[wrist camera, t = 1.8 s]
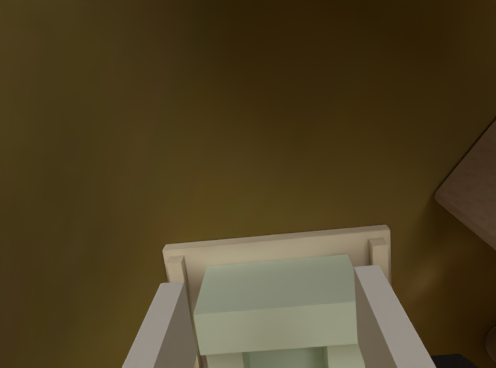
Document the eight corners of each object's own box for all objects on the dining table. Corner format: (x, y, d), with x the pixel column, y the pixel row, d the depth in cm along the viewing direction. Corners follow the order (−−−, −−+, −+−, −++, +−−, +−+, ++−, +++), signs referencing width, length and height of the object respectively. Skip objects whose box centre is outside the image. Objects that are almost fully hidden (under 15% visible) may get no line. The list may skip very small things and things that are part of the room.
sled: (206, 266, 30) (193, 314, 25) (347, 254, 30) (367, 300, 24) (226, 392, 34) (218, 461, 28) (354, 383, 33) (373, 452, 27)
